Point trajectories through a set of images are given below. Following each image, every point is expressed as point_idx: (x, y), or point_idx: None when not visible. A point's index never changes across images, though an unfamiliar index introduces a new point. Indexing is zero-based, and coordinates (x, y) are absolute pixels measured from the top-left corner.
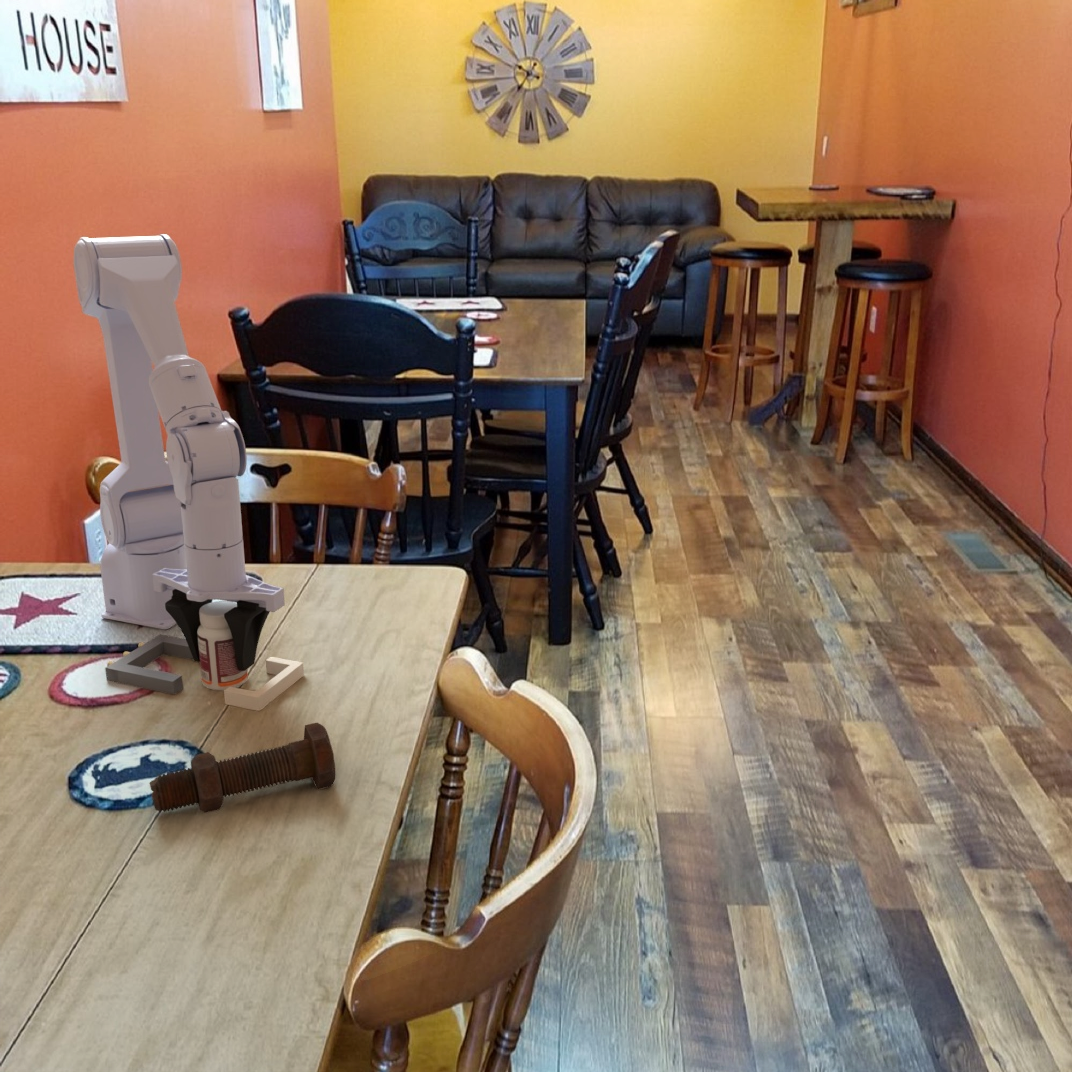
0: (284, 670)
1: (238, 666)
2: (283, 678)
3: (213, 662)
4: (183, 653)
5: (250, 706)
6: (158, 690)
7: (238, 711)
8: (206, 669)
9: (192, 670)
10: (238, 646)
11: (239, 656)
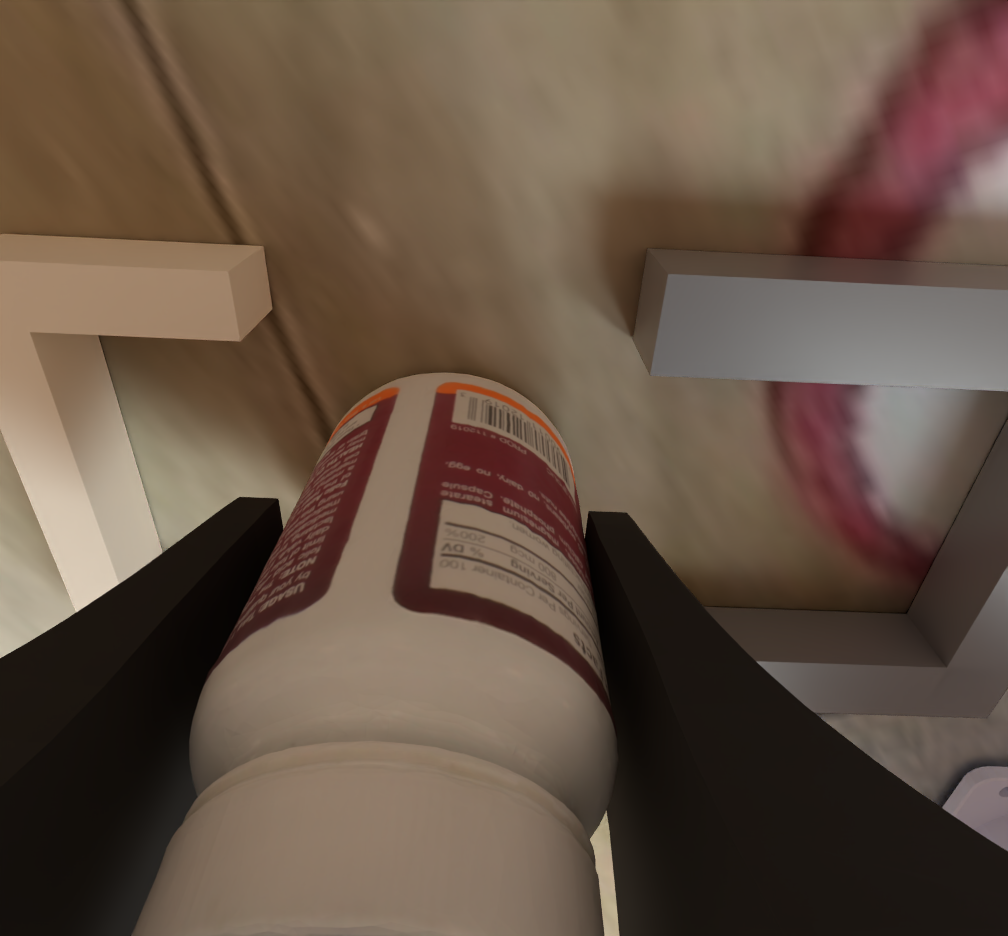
0: None
1: (251, 508)
2: (44, 530)
3: (393, 468)
4: (799, 627)
5: (56, 242)
6: (771, 254)
7: (117, 187)
8: (469, 434)
9: (687, 526)
10: (116, 612)
11: (179, 552)
